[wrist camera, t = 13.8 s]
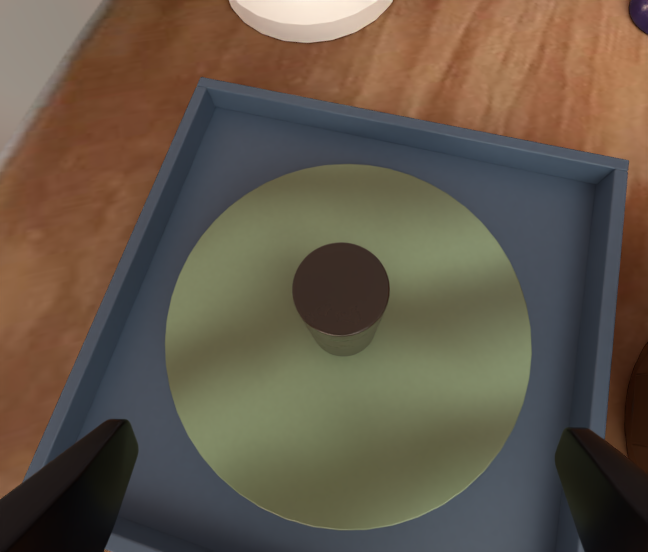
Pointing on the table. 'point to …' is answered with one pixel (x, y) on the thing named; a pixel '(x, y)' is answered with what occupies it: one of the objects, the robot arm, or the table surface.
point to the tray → (410, 158)
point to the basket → (638, 413)
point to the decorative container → (308, 17)
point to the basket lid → (348, 347)
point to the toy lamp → (639, 13)
